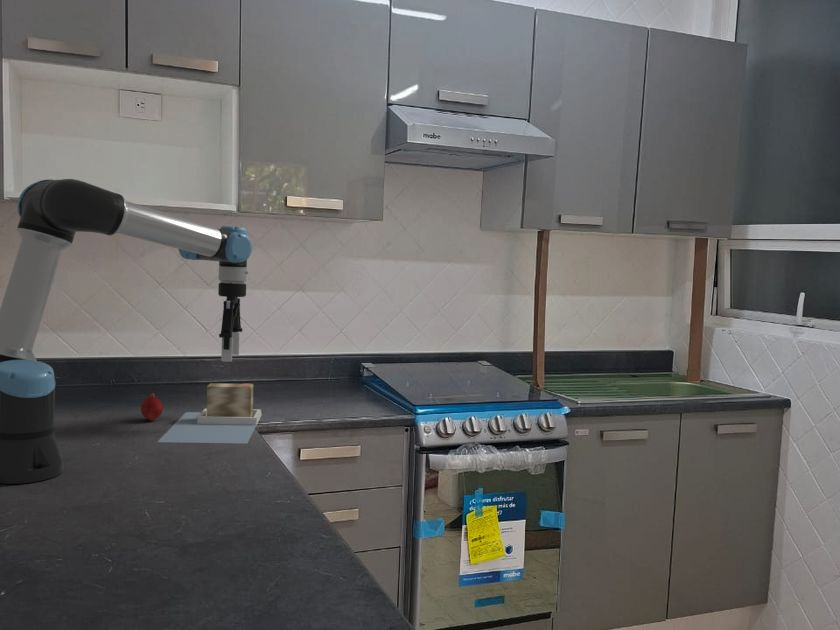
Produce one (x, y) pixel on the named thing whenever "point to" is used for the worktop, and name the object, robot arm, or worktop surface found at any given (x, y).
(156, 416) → the onion
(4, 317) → the robot arm
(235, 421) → the frame
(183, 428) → the mat
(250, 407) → the block
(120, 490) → the worktop surface
